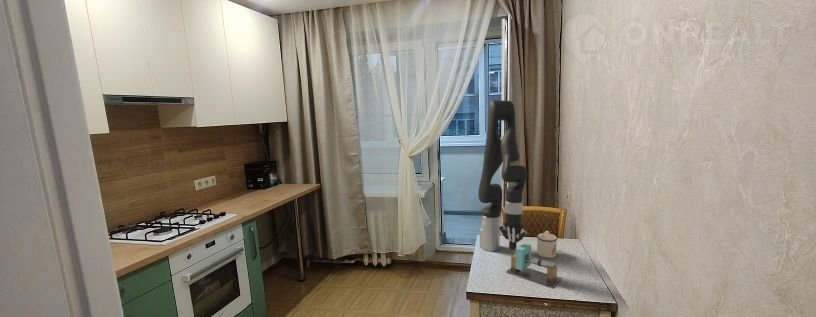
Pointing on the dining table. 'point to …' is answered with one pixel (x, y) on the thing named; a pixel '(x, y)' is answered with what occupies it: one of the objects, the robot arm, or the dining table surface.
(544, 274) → the pipe rig
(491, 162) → the robot arm
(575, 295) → the dining table surface
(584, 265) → the dining table surface
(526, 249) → the collar
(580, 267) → the dining table surface
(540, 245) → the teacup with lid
